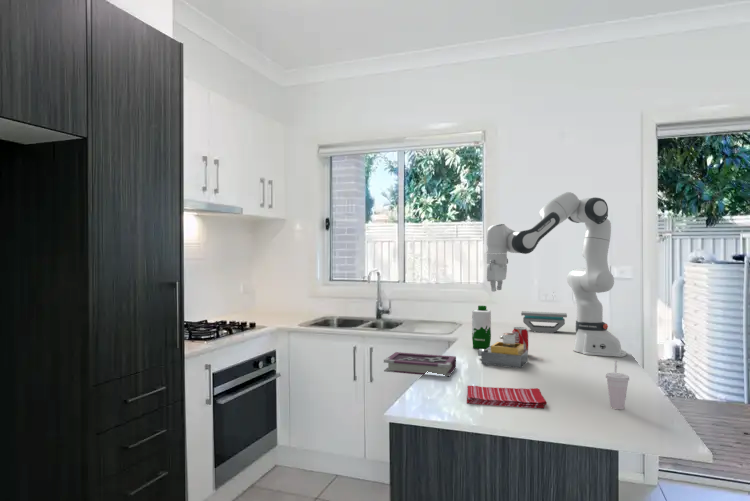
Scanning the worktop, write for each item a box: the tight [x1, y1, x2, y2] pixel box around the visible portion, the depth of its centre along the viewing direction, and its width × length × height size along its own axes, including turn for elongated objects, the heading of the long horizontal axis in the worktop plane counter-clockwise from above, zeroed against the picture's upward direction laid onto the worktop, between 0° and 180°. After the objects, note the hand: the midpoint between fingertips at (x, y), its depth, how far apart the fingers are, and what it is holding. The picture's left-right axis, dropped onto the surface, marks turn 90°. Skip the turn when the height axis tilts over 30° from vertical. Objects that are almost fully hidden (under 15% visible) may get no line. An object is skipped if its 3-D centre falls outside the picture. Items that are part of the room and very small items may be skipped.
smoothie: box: [605, 360, 630, 410], centre depth 145 cm, size 6×6×14 cm
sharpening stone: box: [520, 310, 568, 333], centre depth 286 cm, size 25×8×11 cm, turn 70°
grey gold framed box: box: [477, 341, 529, 369], centre depth 205 cm, size 20×14×8 cm
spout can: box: [499, 332, 515, 348], centre depth 204 cm, size 6×5×7 cm
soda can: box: [511, 326, 529, 351], centre depth 221 cm, size 7×7×12 cm
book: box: [383, 351, 457, 377], centre depth 191 cm, size 25×16×5 cm, turn 71°
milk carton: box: [471, 305, 492, 350], centre depth 237 cm, size 9×9×20 cm
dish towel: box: [466, 385, 548, 410], centre depth 154 cm, size 17×24×3 cm
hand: (496, 290), depth 219 cm, fingers open, 8 cm apart
